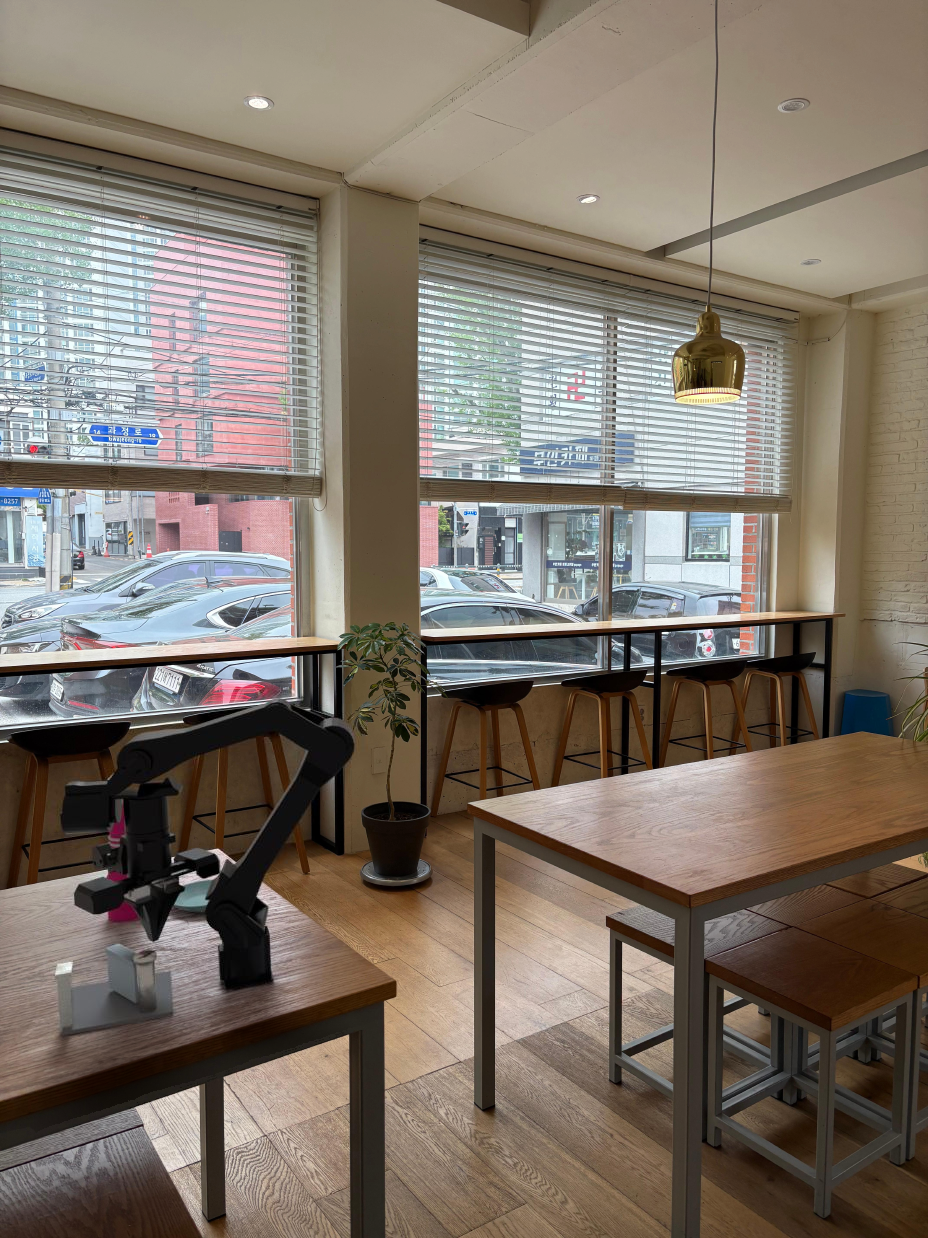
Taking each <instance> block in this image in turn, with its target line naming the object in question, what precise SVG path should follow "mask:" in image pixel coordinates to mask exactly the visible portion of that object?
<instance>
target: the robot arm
mask: <svg viewBox="0 0 928 1238" xmlns="http://www.w3.org/2000/svg"><path fill="white" fill-rule="evenodd" d="M272 732H273V733H274V732H275V733H277V734H279V735H282V736H283V737H284V738H286V739H287V740H289V741H291V742H292V743H294V744H295V745H297V746H299V748H302V749H304V750H305V752H304V754H303V757H302V760H301V763H300V765H299V767H298V769H297V772H296V773H295V775H294V776H293V779H292V780H291V782H289V785H288V786H287V788H286V789H285V791H284V792H283V794H282V796H281V797H280V799H279V800H278V802H277V804H276V805H275V806H274V808H273V810H272V811H271V812H270V814H269V816H268V817H267V819H266V821H265V822H264V824H263V825H262V827H261V829H260V830H259V831H258V833H257V835H256V836H255V838H254V840H253V841H252V842H251V844H250V846H249V847H248V848H247V850H246V852H245V854H243V855H242V857H241V858H239V860H237V861H236V862H235V863H233V862H232V861H231V860H229V859H228V858H226V859H225V861H224V863H223V866H222V868H221V859H220V858H219V857H218V855H217V854H216V853H214V852H212V851H209V850H205V849H202V848H201V847H195V848H191V849H189V850H185V851H182V852H179V853H176V854H175V856H174V858H172V846H171V845H172V844H174V843H176V842H177V839H176V834H174V833H171V828H170V825H171V824H170V809H169V805H170V804H169V797H175V796H179V795H180V793H181V791H182V790H183V789H184V785H183V784H182V783H181V782H179V781H178V780H176V779H174V777H173V776H172V774H167V772H170V771H172V770H174V769H175V768H177V767H179V766H180V765H181V764H182V765H183V763H185V762H187V761H189V760H191V759H192V758H196V757H199V756H201V755H204V754H208V753H210V752H214V751H217V750H219V749H223V748H226V747H229V746H233V745H235V744H239V743H241V742H244V741H247V740H248V741H249V740H251V739H254V738H258V737H260V736H264V735H266V734H269V733H272ZM354 737H355V736H354V732H353V728H352V726H351V725H350V724H349V723H348V722H346V721H345V720H344V719H341V718H338V717H329V718H326V717H323V716H322V715H320V714H317V713H315V712H313V711H310V710H307V709H305V708H302V707H299V706H297V705H295V704H293V703H291V702H289V701H288V700H286V699H285V698H281V697H276V698H272V699H270V700H269V701H268V702H265V703H262V704H259V705H256V706H253V707H249V708H246V709H243V710H240V711H237V712H234V713H231V714H228V715H224V716H222V717H218V718H215V719H212V720H209V721H206V722H203V723H199V724H195V725H192V726H190V727H183V728H171V729H170V728H169V729H162V730H161V729H159V730H154V731H152V730H151V731H145V732H141V733H139V734H137V735H135V736H134V737H133V738H132V739H130V740H129V741H127V743H125V745H124V746H123V747H121V749H120V750H119V752H118V754H117V758H116V769H115V771H114V772H113V773H112V774H111V775H110V777H108V778H107V779H106V780H102V781H101V780H99V781H87V782H86V781H78V780H77V781H69V782H68V783H67V784H65V786H64V796H63V799H62V806H61V812H60V815H59V818H60V820H59V821H60V825H61V829H62V832H63V834H65V835H76V834H77V835H79V834H89V833H90V834H91V833H105V832H108V831H111V830H112V828H113V825H114V823H119V822H120V820H121V816H122V801H121V799H123V808H124V825H125V835H123V836H120V847H117V848H113V849H112V848H111V846H110V844H109V843H108V842H107V843H103V844H99V845H96V846H94V847H92V848H91V851H92V854H91V855H92V856H91V857H92V860H91V861H92V865H93V868H94V869H95V870H96V871H99V870H102V869H107V875H108V874H110V873H113V872H116V871H117V870H118V874H120V875H125V874H126V875H127V876H128V878H126V879H123V880H120V881H117V882H115V881H112V880H110V879H108V878H106V876H100V877H98V878H94V879H91V880H88V881H84V882H82V883H79V884H78V885H77V886H76V888H75V889H74V892H73V901H74V902H73V904H74V906H75V907H77V908H79V909H80V910H83V911H85V912H87V913H90V914H91V915H94V916H95V915H97V916H98V915H102V914H105V913H106V914H107V913H108V912H109V911H112V910H114V909H117V908H119V907H120V906H121V904H122V903H123V902H126V903H128V904H131V905H132V907H133V908H134V910H135V911H136V913H137V915H138V917H139V919H138V920H139V921H140V923H141V925H142V928H143V930H144V932H145V934H146V936H147V938H148V940H149V941H150V942H152V943H154V942H157V941H159V939H160V937H161V934H162V932H163V930H164V927H165V925H166V923H167V920H168V918H169V916H170V914H171V911H172V909H173V907H175V906H174V904H175V902H176V900H177V898H178V896H179V894H180V893H182V892H184V891H185V887H184V886H183V885H181V884H180V877H182V876H185V875H187V874H191V873H193V872H195V875H196V876H197V877H199V878H201V879H202V880H206V879H208V878H210V877H213V876H216V877H215V878H213V879H211V880H212V881H211V884H210V887H209V889H208V892H207V895H206V897H205V900H209V901H208V903H207V906H206V909H205V912H204V916H205V919H206V923H207V924H208V926H209V927H210V928H211V929H212V930H213V931H214V932H217V933H218V936H219V937H220V941H221V943H219V944H218V945H217V961H218V962H217V963H218V975H219V981H221V982H223V986H224V987H223V988H224V990H225V991H233V990H238V989H243V988H249V987H254V986H260V985H265V984H266V985H267V984H271V983H273V982H275V980H274V979H275V978H274V975H273V971H272V959H271V958H272V953H271V934H270V931H269V928H268V925H267V924H266V923H267V921H268V920H267V918H268V915H269V908H270V907H269V906H268V905H267V904H266V903H265V902H264V901H263V900H261V899H260V898H259V897H258V893H259V891H260V889H261V887H262V884H263V881H264V879H265V876H266V874H267V873H268V871H269V870H270V868H271V867H272V865H273V864H274V862H275V861H276V858H278V855H279V854H280V852H281V851H282V850H283V847H285V844H286V843H287V841H288V840H289V838H290V837H291V835H292V833H293V832H294V830H295V829H296V828H297V825H298V824H299V822H300V821H301V819H302V818H303V816H304V815H305V813H306V811H308V809H309V807H310V805H311V804H312V802H313V801H314V799H315V797H316V795H317V794H318V792H320V790H321V789H322V788H323V787H324V786H325V785H327V784H328V783H329V782H330V781H331V780H332V779H333V778H334V777H336V776H337V774H339V772H340V771H341V770H342V769H343V768H344V766H346V764H347V763H348V762H350V760H351V758H352V757H353V754H354V753H355V738H354ZM164 774H167V776H166V777H165V778H164V780H159V781H153V780H155V779H156V778H159V777H160V776H162V775H164ZM133 784H137V785H138V787H136V788H129V787H131V786H132V785H133ZM172 859H173V861H172Z"/></svg>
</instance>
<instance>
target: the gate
mask: <svg viewBox="0 0 928 1238" xmlns="http://www.w3.org/2000/svg"><path fill="white" fill-rule="evenodd" d="M137 953H138V952H136V951H134V950H132V949H130V948H128V947H126V946H124V945H122V944H120V943H116V944H112V945H110V946H107V947H105V954H107V955H106V959H107V977H108V981H109V988H111V989H112V990H114V991H116V992H117V993H119V994H121V995H122V996H124V997H126V998H127V999H129V1000H131V1001H133V1002H134V1003H138V985H137V966H136V964H135V963H134V955H135V954H137Z"/></svg>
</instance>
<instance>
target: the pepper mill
mask: <svg viewBox="0 0 928 1238" xmlns="http://www.w3.org/2000/svg"><path fill="white" fill-rule="evenodd" d="M121 801H122V816H121V820H120V822H119V823H114V825H113V828H112V830H111V831H107V832H108V833H109V835H108V836H107V839H108V842H107V843H109V844H110V846H111V848H112V849H113V848H117V847H120V836H123V835H125V825H124V808H123V799H121ZM105 878H108V879H110V880H112V881H115V882H117V881H120V880H123V879H126V878H128V876H127V875H126V874H125V875H120V874H118V870H117V871H116V872H113V873H110V874H108V873H107V876H105ZM107 918H108V919H109V920H110V921H112V922H117V923H125V922H132V921H135V920H140V919H139V917H138V915H137V913H136V911H135V910H134V908H133V907H132V905H131V904H128V903H126V902H123V903H122V904H121V906H120V907H119V908H117V909H114V910H112V911H109V912H107Z"/></svg>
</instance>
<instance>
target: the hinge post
mask: <svg viewBox="0 0 928 1238" xmlns="http://www.w3.org/2000/svg"><path fill="white" fill-rule="evenodd" d="M136 953H137V954H135V955H134V963H135V964H136V966H137V985H138V1005H139V1012H141V1013H149V1012H152V1011H154V1010H156V1008H157V998H156V978H155V973H156V965H155V963H156V961H157V960H158V955H157V954H158V952H157V951H156V950H151V949H147V950H142V951H139V952H136Z"/></svg>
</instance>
